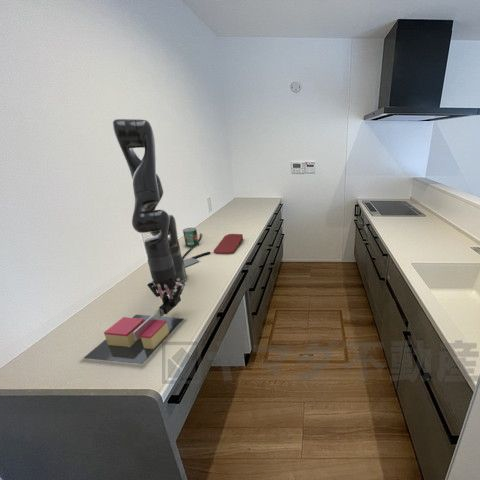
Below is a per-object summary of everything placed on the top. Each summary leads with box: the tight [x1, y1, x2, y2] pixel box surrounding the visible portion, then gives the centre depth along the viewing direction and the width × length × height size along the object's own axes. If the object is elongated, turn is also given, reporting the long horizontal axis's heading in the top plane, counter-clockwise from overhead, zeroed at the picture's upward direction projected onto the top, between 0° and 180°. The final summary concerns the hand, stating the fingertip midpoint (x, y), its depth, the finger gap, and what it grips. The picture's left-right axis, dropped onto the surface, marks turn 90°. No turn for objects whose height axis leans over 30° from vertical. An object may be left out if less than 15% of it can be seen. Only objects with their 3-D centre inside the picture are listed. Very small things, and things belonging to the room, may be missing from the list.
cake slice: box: [141, 320, 169, 349], centre depth 89 cm, size 8×4×5 cm, turn 174°
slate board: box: [83, 314, 184, 365], centre depth 92 cm, size 22×20×1 cm
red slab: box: [213, 233, 244, 255], centre depth 171 cm, size 12×5×25 cm
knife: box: [133, 295, 182, 340], centre depth 93 cm, size 22×2×3 cm, turn 174°
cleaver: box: [183, 251, 211, 268], centre depth 148 cm, size 29×1×10 cm
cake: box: [103, 316, 145, 347], centre depth 90 cm, size 8×8×5 cm
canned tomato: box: [182, 227, 200, 249], centre depth 170 cm, size 8×8×11 cm
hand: (170, 305), depth 100 cm, fingers closed on knife, 2 cm apart
